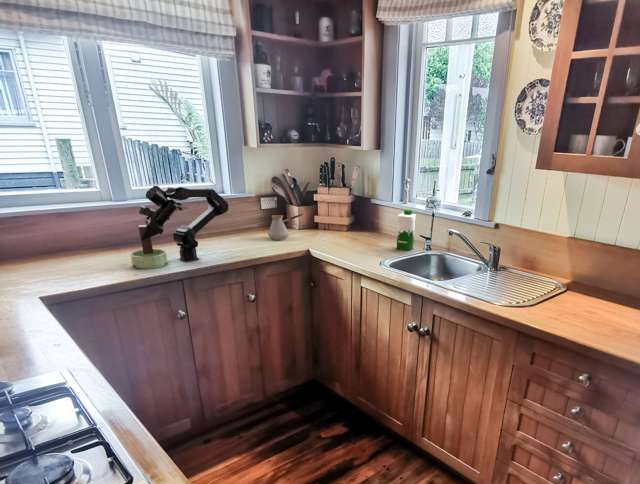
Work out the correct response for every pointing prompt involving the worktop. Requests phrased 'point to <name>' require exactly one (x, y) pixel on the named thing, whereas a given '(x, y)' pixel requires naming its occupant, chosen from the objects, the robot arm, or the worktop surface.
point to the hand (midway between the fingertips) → (142, 238)
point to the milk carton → (405, 230)
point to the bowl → (148, 259)
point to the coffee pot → (279, 227)
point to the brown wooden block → (145, 243)
